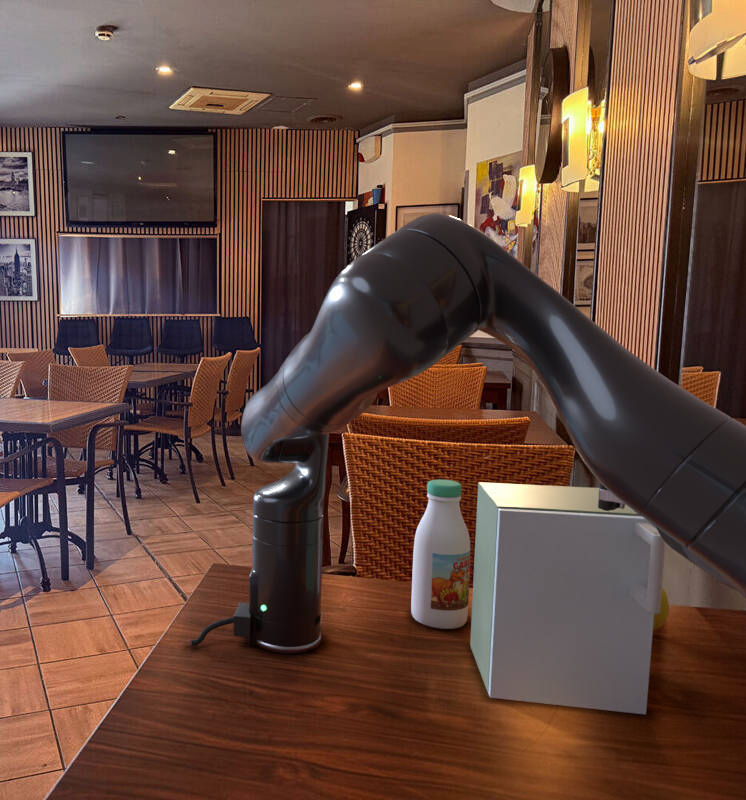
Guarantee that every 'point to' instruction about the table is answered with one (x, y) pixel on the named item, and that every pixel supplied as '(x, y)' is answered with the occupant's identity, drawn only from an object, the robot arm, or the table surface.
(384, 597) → the table surface
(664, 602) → the lemon
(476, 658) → the cabinet
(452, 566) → the milk bottle
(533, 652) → the cabinet door
